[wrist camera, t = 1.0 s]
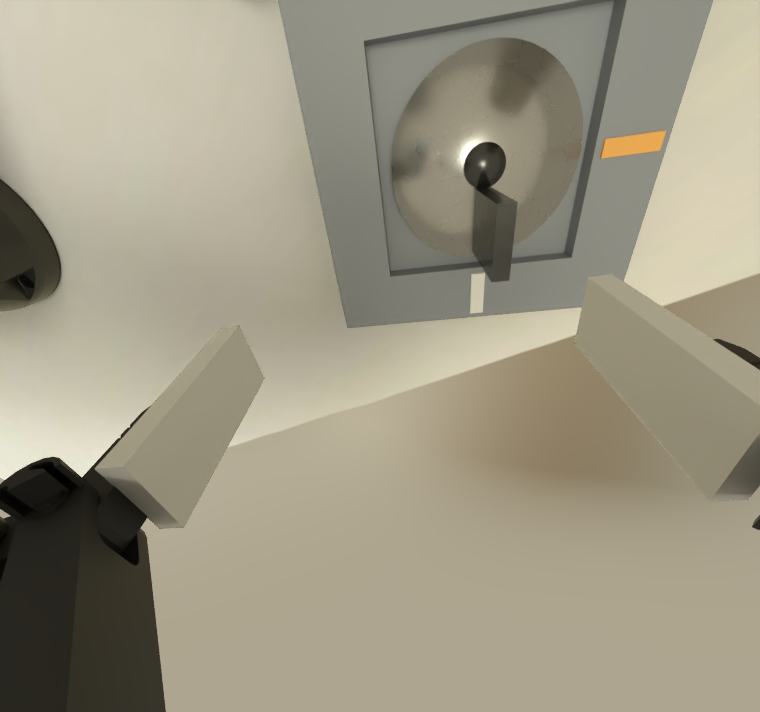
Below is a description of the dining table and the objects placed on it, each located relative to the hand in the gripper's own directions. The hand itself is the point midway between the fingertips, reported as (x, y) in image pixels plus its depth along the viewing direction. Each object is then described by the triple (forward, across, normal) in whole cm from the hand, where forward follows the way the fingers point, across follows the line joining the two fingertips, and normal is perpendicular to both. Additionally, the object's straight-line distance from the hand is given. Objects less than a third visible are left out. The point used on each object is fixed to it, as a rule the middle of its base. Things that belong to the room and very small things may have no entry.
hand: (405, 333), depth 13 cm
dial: (+19, +7, +3) cm, 21 cm away
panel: (+21, +7, +3) cm, 22 cm away
